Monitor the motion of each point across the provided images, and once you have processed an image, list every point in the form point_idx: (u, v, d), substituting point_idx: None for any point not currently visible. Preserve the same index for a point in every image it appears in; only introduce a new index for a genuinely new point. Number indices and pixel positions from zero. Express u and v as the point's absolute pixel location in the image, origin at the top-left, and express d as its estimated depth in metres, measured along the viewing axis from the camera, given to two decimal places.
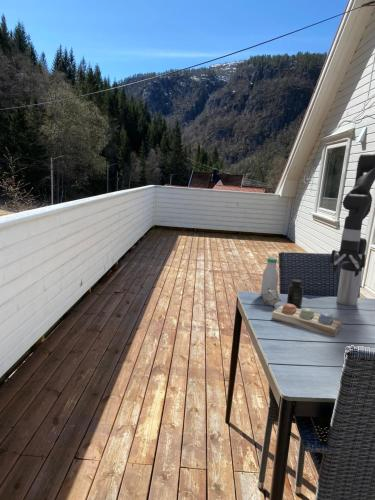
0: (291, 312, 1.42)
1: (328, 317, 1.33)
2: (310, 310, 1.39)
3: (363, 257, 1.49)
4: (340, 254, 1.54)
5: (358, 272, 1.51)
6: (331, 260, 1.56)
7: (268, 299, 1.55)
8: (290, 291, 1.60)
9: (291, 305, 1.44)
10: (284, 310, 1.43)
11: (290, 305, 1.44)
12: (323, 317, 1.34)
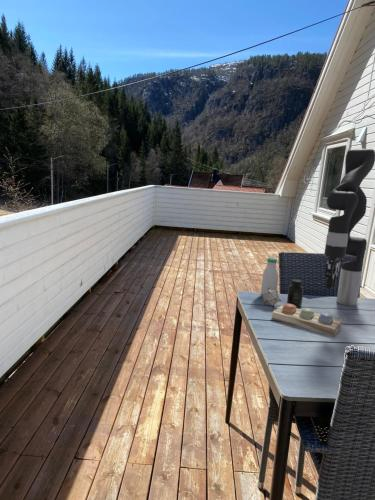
0: (291, 312, 1.42)
1: (328, 317, 1.33)
2: (310, 310, 1.39)
3: None
4: (334, 265, 1.29)
5: None
6: (332, 276, 1.28)
7: (268, 299, 1.55)
8: (290, 291, 1.60)
9: (291, 305, 1.44)
10: (284, 310, 1.43)
11: (290, 305, 1.44)
12: (323, 317, 1.34)
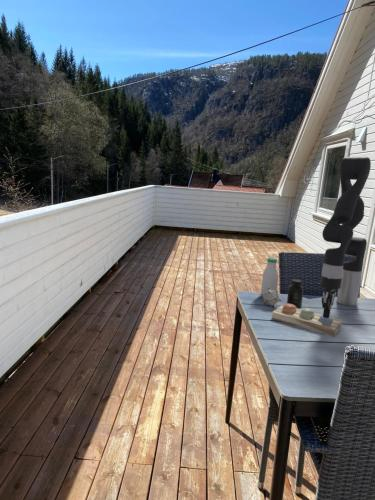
0: (291, 312, 1.42)
1: (328, 319, 1.33)
2: (310, 310, 1.39)
3: None
4: (330, 298, 1.31)
5: None
6: (329, 306, 1.31)
7: (268, 299, 1.55)
8: (290, 291, 1.60)
9: (291, 305, 1.44)
10: (284, 310, 1.43)
11: (290, 305, 1.44)
12: (323, 319, 1.34)
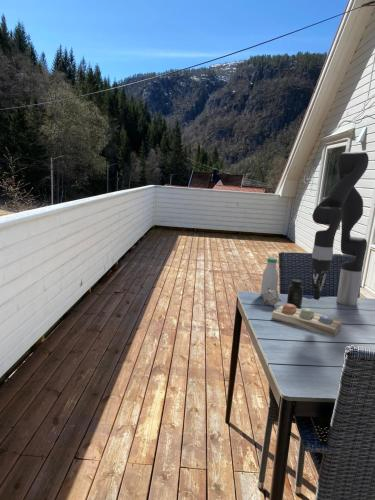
0: (291, 312, 1.42)
1: (328, 320, 1.33)
2: (310, 310, 1.39)
3: (325, 277, 1.39)
4: (320, 279, 1.32)
5: (319, 293, 1.37)
6: (319, 288, 1.33)
7: (268, 299, 1.55)
8: (290, 291, 1.60)
9: (291, 305, 1.44)
10: (284, 310, 1.43)
11: (290, 305, 1.44)
12: (322, 319, 1.34)
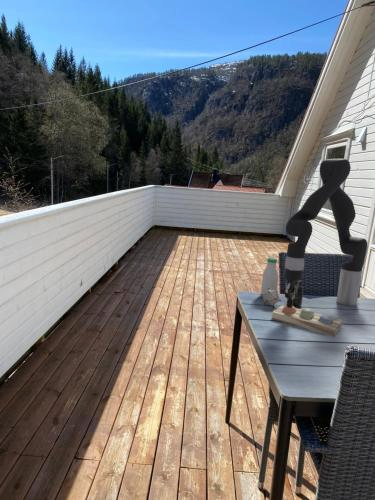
0: None
1: (328, 320, 1.33)
2: (310, 310, 1.39)
3: (298, 286, 1.46)
4: (292, 288, 1.40)
5: (292, 302, 1.44)
6: (291, 297, 1.40)
7: (268, 299, 1.55)
8: None
9: (291, 307, 1.44)
10: None
11: None
12: (322, 319, 1.34)
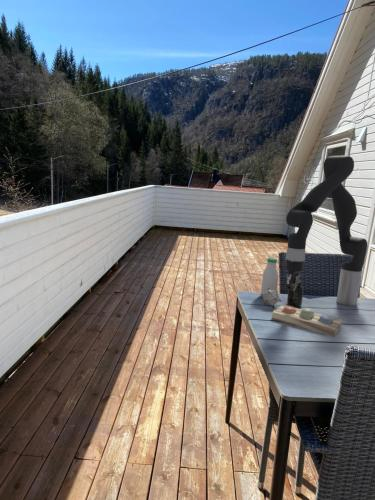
0: None
1: (328, 320, 1.33)
2: (310, 310, 1.39)
3: (299, 277, 1.45)
4: (293, 280, 1.39)
5: None
6: (292, 288, 1.39)
7: (268, 299, 1.55)
8: None
9: (291, 307, 1.44)
10: None
11: (290, 307, 1.44)
12: (322, 319, 1.34)
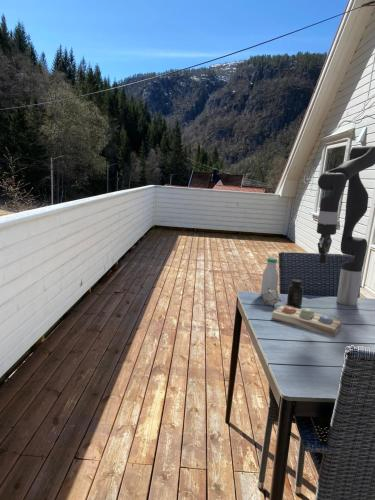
0: None
1: (328, 320, 1.33)
2: (310, 310, 1.39)
3: (331, 242, 1.45)
4: (325, 243, 1.39)
5: None
6: (325, 251, 1.39)
7: (268, 299, 1.55)
8: (290, 291, 1.60)
9: (291, 307, 1.44)
10: None
11: (290, 307, 1.44)
12: (322, 319, 1.34)
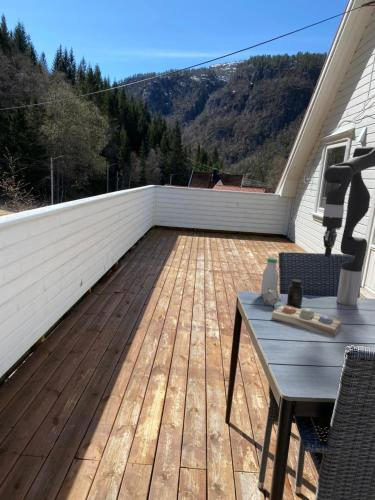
0: None
1: (328, 320, 1.33)
2: (310, 310, 1.39)
3: (336, 236, 1.45)
4: (331, 236, 1.39)
5: (330, 251, 1.43)
6: (330, 245, 1.39)
7: (268, 299, 1.55)
8: (290, 291, 1.60)
9: (291, 307, 1.44)
10: None
11: (290, 307, 1.44)
12: (322, 319, 1.34)
